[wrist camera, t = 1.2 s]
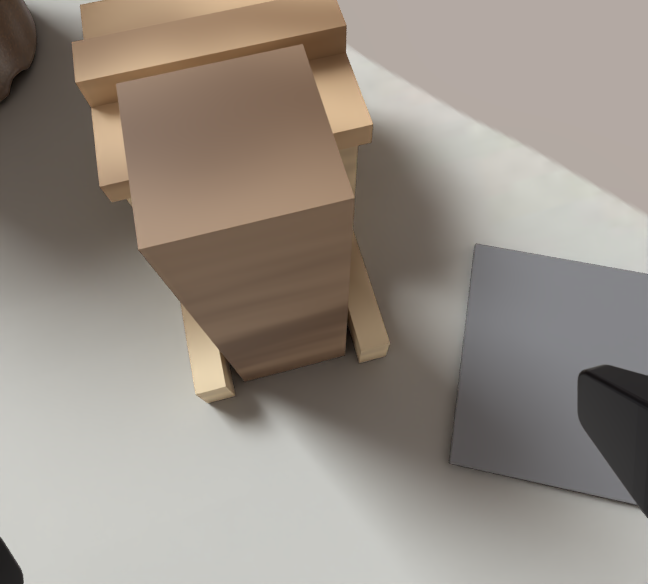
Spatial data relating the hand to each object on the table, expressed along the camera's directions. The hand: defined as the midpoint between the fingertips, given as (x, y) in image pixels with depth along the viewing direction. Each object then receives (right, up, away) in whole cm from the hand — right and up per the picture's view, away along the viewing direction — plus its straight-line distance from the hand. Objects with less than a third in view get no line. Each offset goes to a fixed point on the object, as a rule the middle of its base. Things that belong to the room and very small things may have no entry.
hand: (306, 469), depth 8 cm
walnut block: (-2, +1, +15) cm, 15 cm away
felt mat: (+10, 0, +14) cm, 17 cm away
